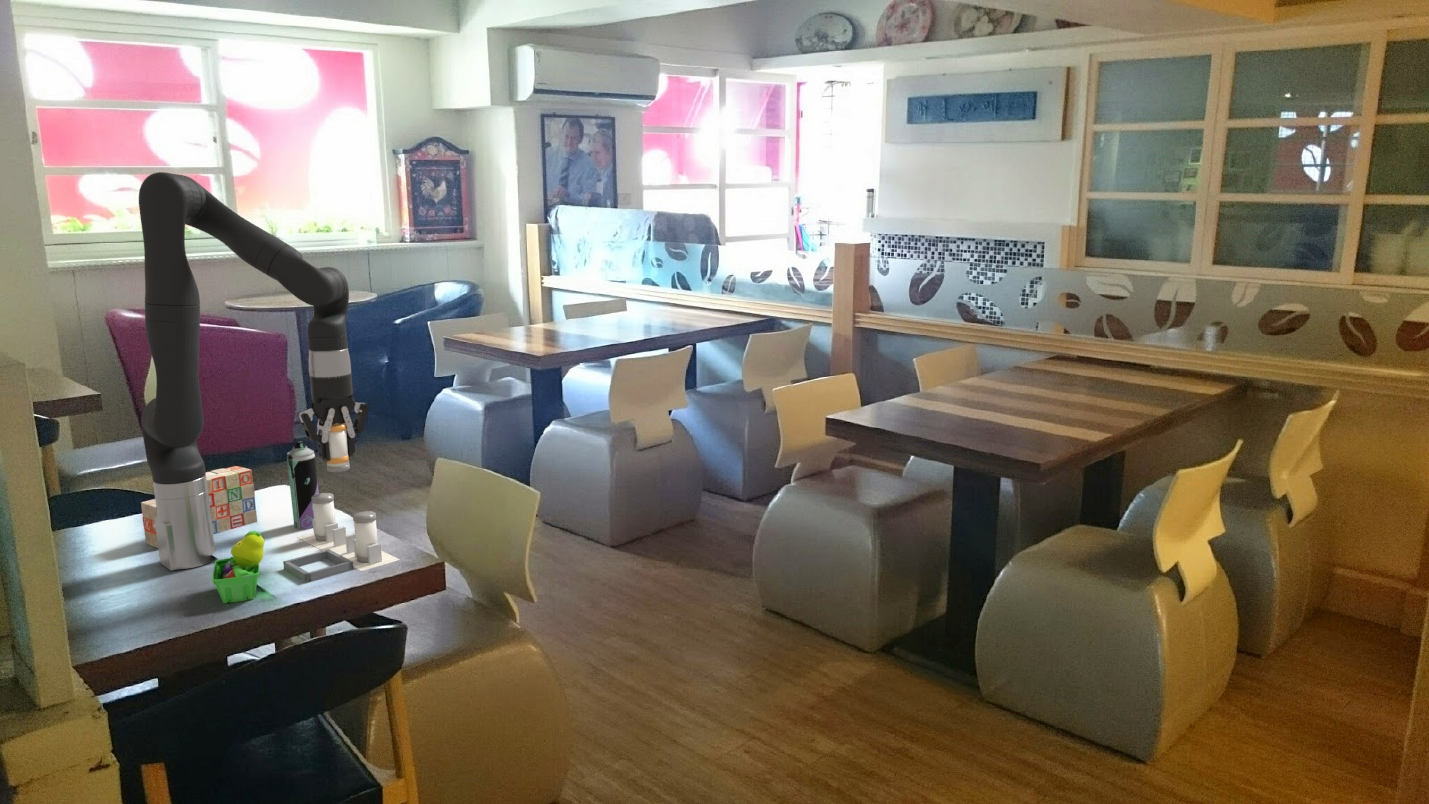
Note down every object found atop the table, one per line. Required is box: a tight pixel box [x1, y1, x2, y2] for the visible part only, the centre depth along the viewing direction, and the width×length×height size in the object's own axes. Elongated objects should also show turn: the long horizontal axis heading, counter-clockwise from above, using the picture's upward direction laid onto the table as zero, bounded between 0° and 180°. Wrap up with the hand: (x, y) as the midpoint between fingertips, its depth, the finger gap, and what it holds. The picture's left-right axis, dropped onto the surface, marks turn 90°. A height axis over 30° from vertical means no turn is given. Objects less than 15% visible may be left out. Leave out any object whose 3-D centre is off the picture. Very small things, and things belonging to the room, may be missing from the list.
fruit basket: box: [211, 530, 265, 604], centre depth 186 cm, size 11×9×11 cm
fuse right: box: [352, 510, 379, 563], centre depth 197 cm, size 4×4×9 cm
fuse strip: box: [297, 519, 401, 572], centre depth 204 cm, size 8×28×5 cm, turn 45°
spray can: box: [286, 440, 320, 530], centre depth 217 cm, size 6×6×20 cm
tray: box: [282, 549, 355, 583], centre depth 194 cm, size 9×10×3 cm
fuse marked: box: [323, 423, 351, 473], centre depth 200 cm, size 4×4×9 cm
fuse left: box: [312, 492, 337, 541], centre depth 210 cm, size 4×4×9 cm
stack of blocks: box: [140, 465, 258, 549], centre depth 219 cm, size 21×6×12 cm, turn 145°
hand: (337, 457), depth 200 cm, fingers closed on fuse marked, 4 cm apart
